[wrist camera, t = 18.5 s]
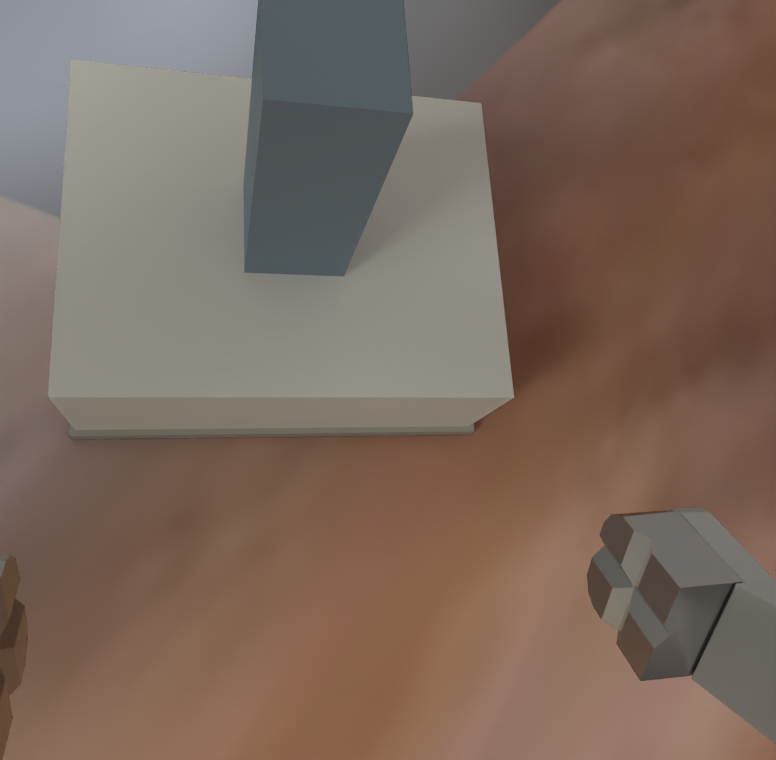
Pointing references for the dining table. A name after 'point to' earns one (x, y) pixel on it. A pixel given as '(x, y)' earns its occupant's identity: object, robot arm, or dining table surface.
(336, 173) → the grey tall block
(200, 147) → the riser
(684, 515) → the robot arm
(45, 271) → the dining table surface
